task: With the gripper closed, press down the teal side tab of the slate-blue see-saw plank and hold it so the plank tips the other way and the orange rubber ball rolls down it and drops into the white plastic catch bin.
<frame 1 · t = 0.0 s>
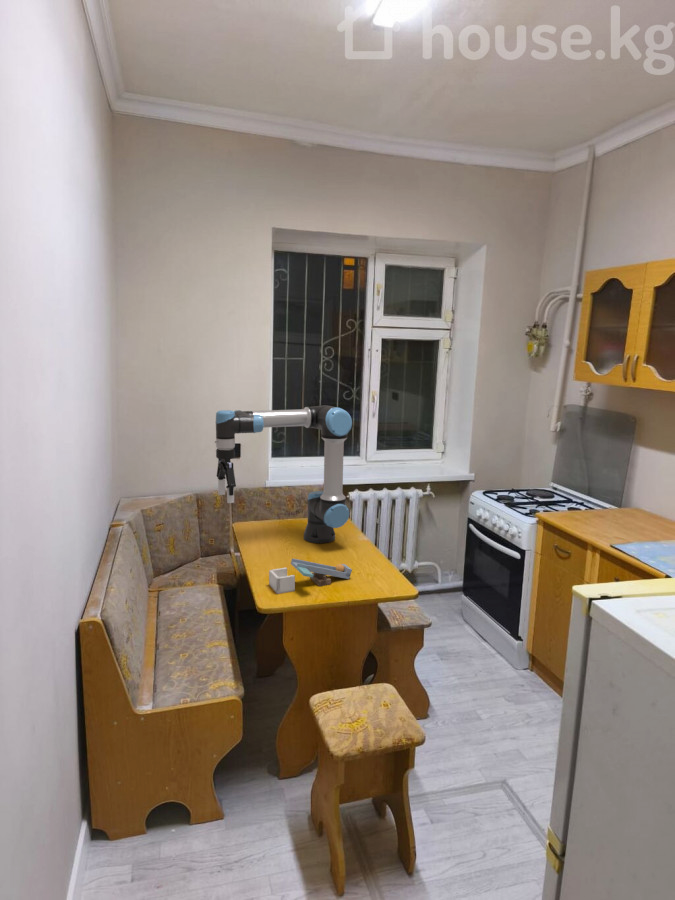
hand: (226, 498, 242), 28 cm above the table, fingers open, 13 cm apart
brown recessed block: (320, 581, 229), on the table
lever: (325, 569, 225), point 6 cm above the table, hinge at -19.0°, touching ball
bin: (281, 587, 222), on the table
ball: (338, 572, 232), point 2 cm above the table, tilted 26°, touching lever
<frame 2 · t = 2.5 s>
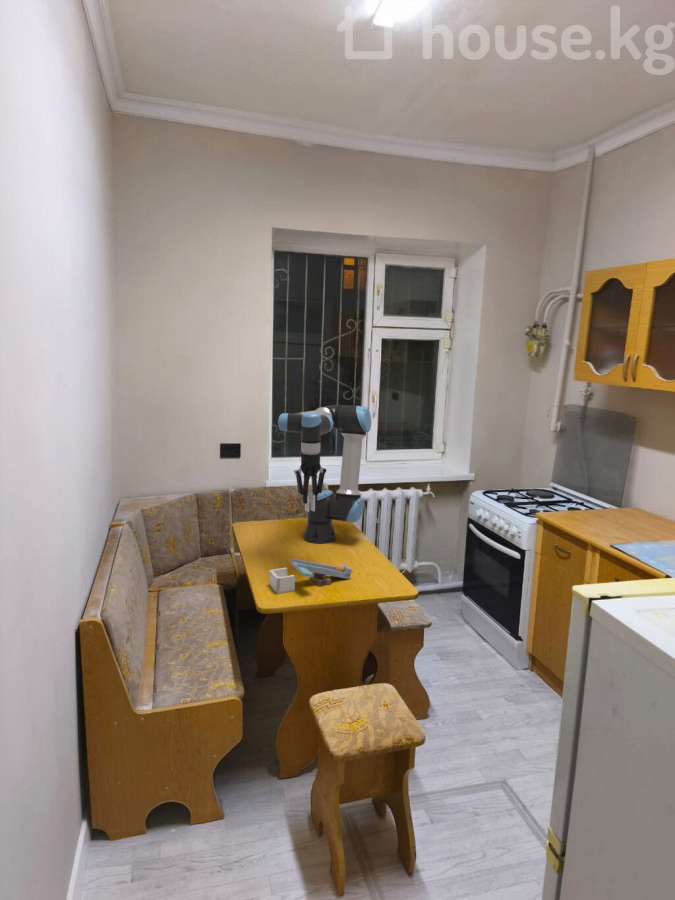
hand: (309, 510, 232), 26 cm above the table, fingers closed
nothing on the table moved.
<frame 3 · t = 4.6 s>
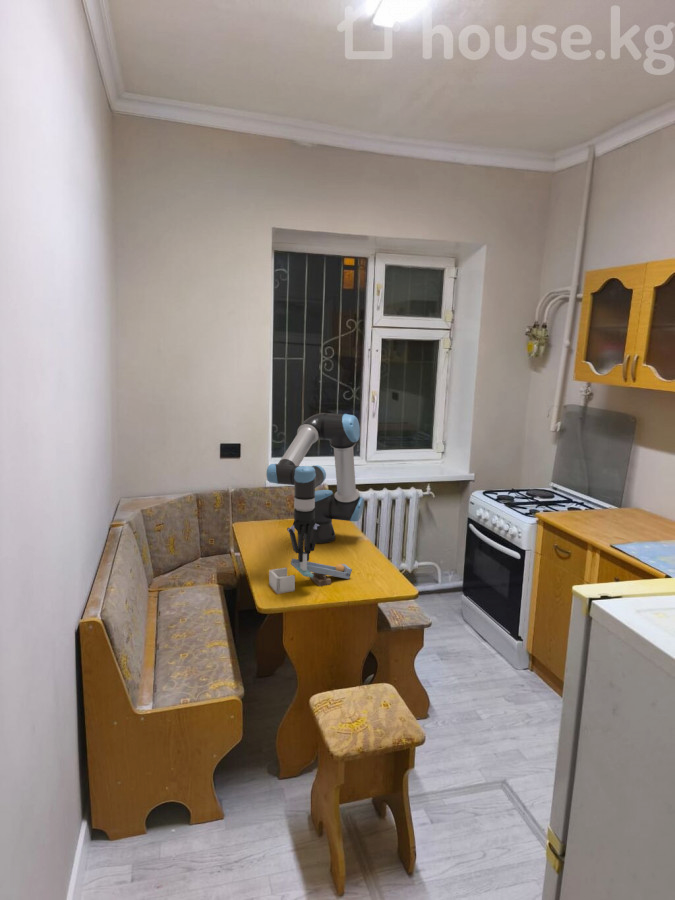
hand: (303, 569, 218), 9 cm above the table, fingers closed
lever: (325, 569, 225), point 6 cm above the table, hinge at -18.9°, touching ball, gripper
everything else where it was.
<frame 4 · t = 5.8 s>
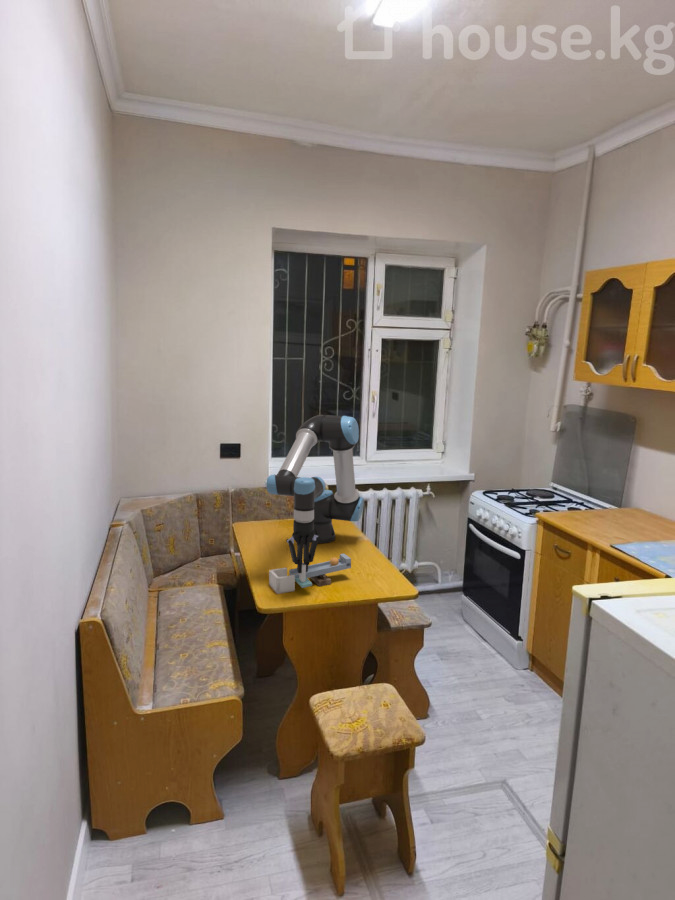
hand: (302, 580, 218), 5 cm above the table, fingers closed
lever: (324, 569, 225), point 6 cm above the table, hinge at 3.5°, touching ball, gripper
ball: (337, 562, 232), point 6 cm above the table, tilted 69°, touching lever
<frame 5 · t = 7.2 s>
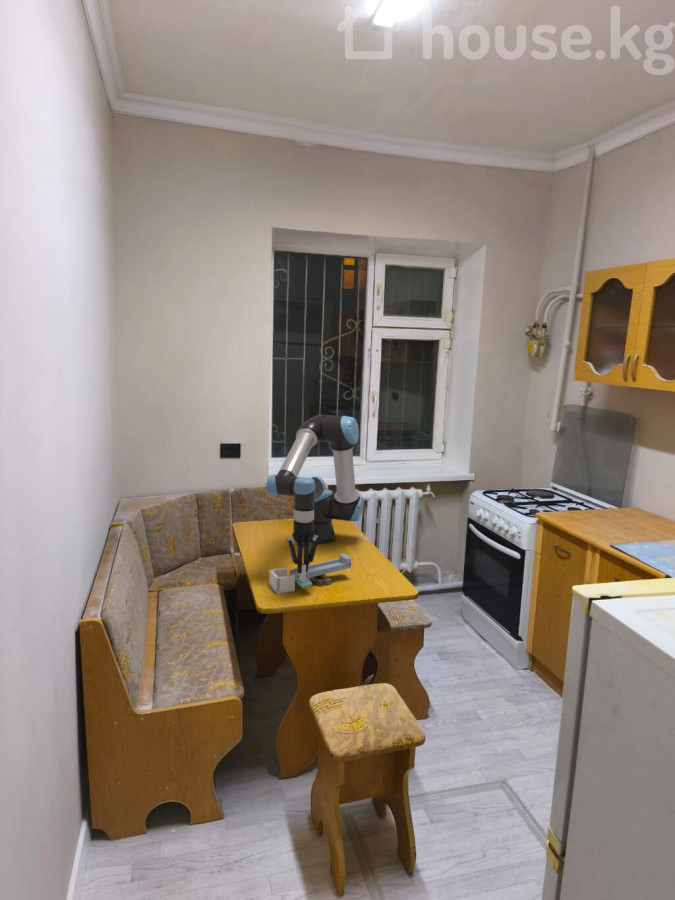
hand: (302, 580, 218), 5 cm above the table, fingers closed
lever: (324, 569, 225), point 6 cm above the table, hinge at 3.7°, touching gripper
ball: (286, 580, 223), point 3 cm above the table, tilted 101°, touching bin
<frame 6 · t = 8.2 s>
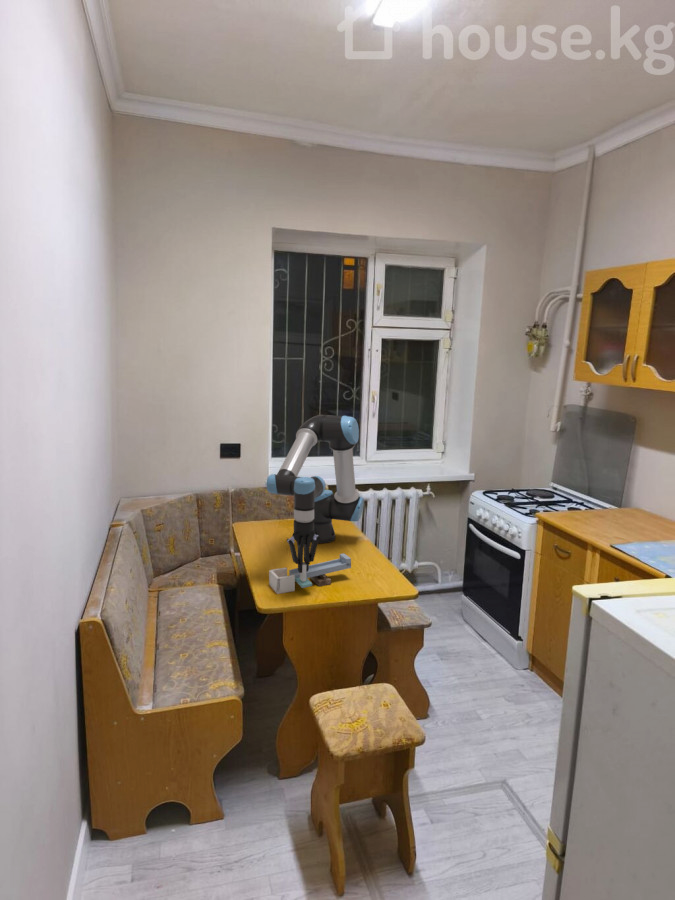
hand: (303, 579, 218), 5 cm above the table, fingers closed
lever: (324, 569, 225), point 6 cm above the table, hinge at 3.7°
ball: (288, 582, 223), point 2 cm above the table, tilted 69°, touching bin
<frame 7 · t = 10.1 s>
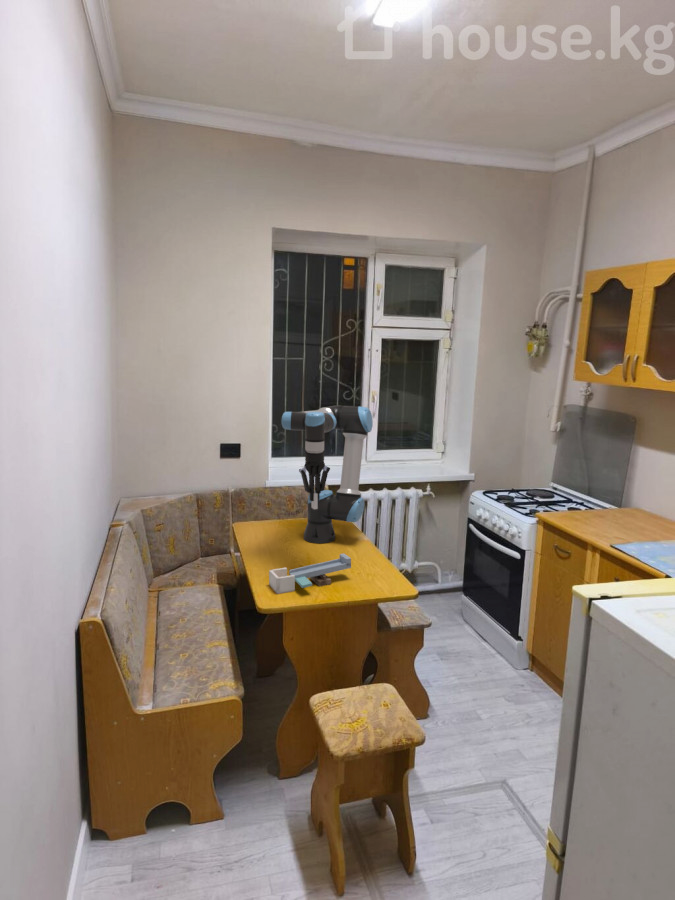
hand: (314, 508, 235), 27 cm above the table, fingers closed
ball: (287, 581, 223), point 2 cm above the table, tilted 86°, touching bin
everything else where it was.
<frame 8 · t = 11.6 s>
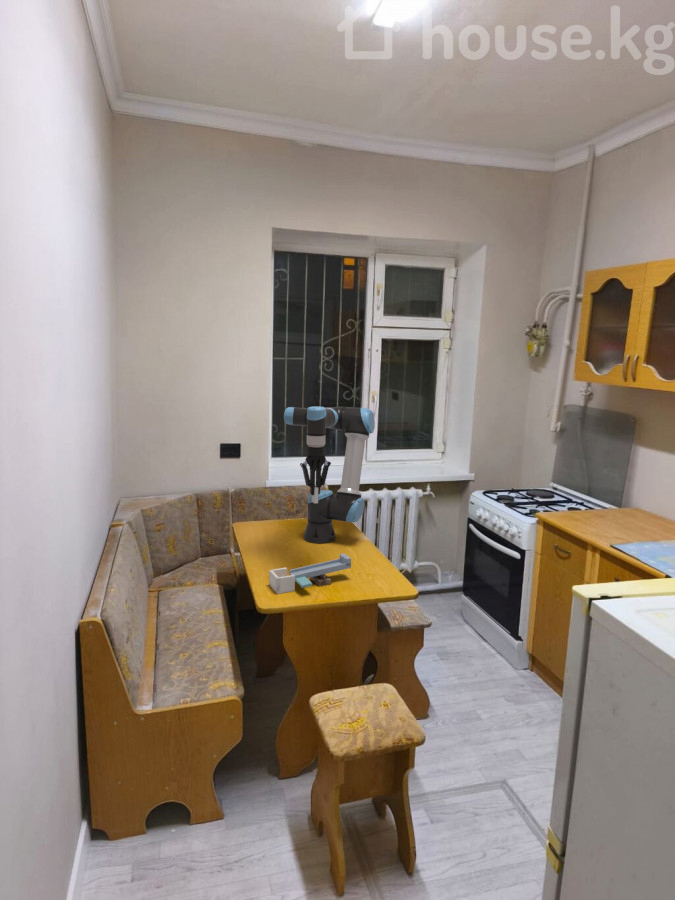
hand: (315, 502, 237), 28 cm above the table, fingers closed
ball: (286, 580, 223), point 3 cm above the table, tilted 100°, touching bin
everything else where it was.
at the end: ball inside the target area on the bin (1.6 cm from its centre), point 2.7 cm above the bin's base; ball point 2.7 cm above the table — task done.
